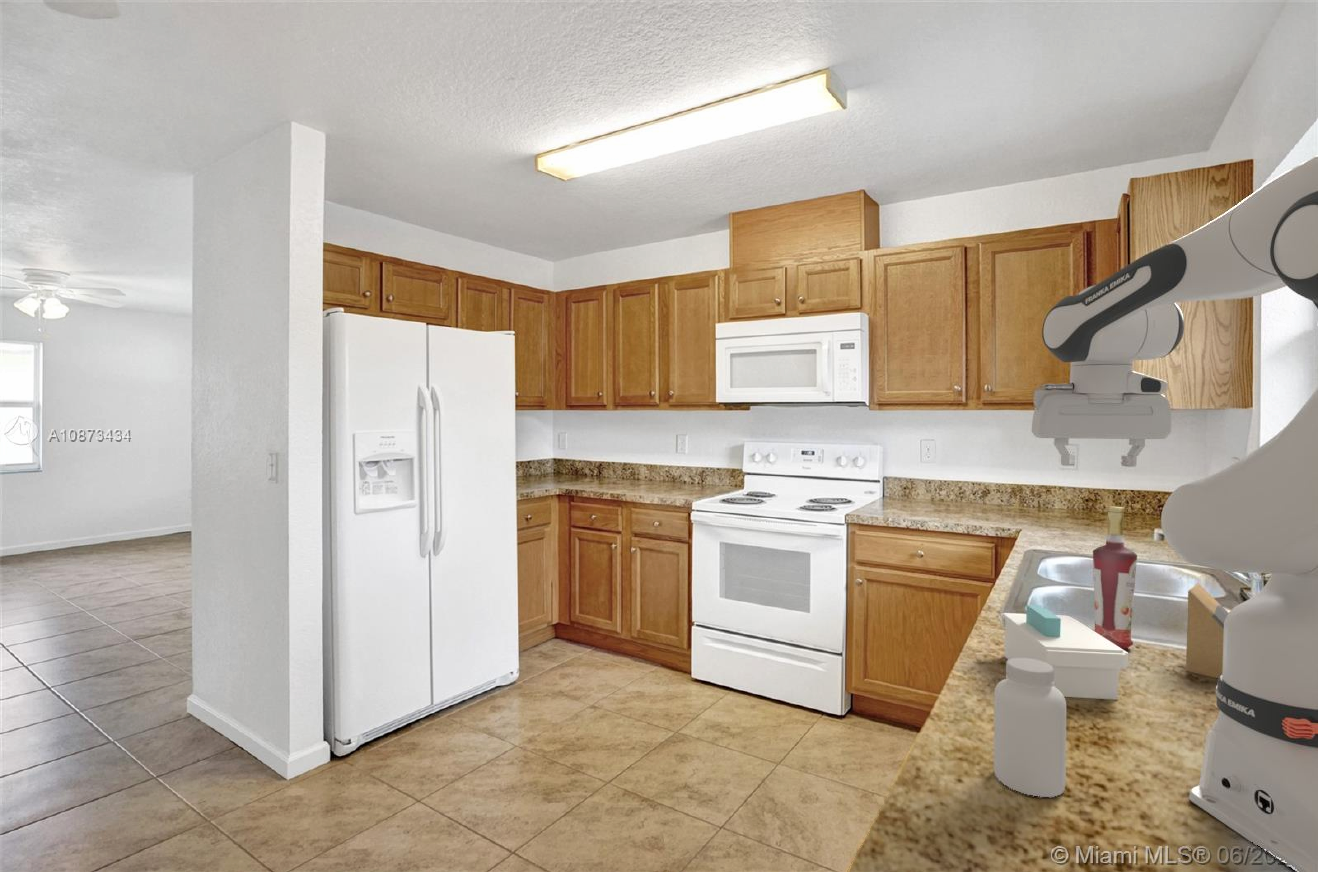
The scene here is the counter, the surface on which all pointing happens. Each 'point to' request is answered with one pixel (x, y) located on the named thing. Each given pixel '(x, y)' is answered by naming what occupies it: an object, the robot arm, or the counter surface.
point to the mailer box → (1065, 670)
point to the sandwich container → (1204, 633)
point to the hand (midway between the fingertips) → (1097, 466)
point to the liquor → (1114, 583)
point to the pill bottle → (1030, 729)
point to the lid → (1066, 640)
